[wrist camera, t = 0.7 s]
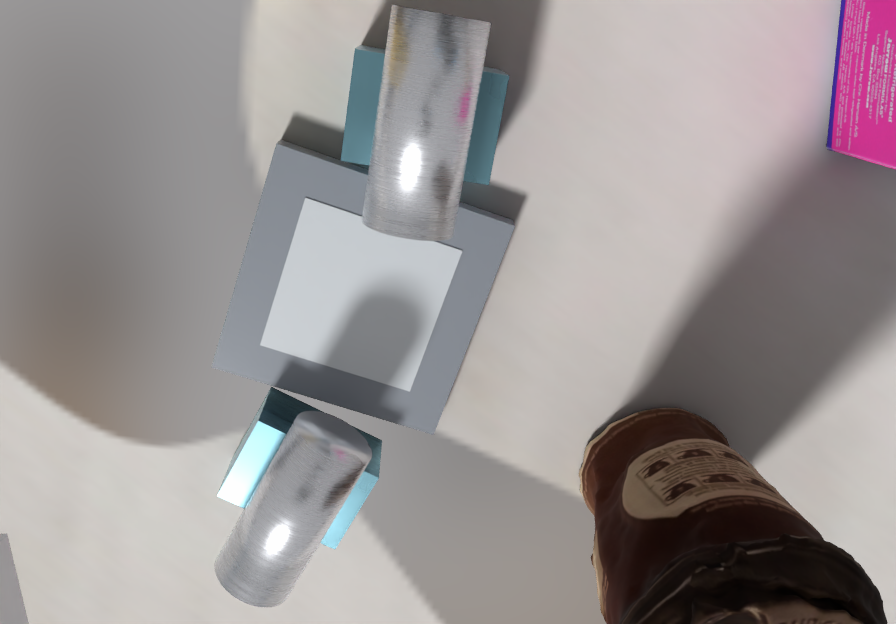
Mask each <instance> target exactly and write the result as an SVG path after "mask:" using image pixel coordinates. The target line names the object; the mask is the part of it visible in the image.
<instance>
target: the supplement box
mask: <svg viewBox="0 0 896 624" xmlns="http://www.w3.org/2000/svg"><path fill="white" fill-rule="evenodd" d="M826 147H827V149H828V150H831V151H835V152H839V153H842V154H846V155H849V156H852V157H855V158H859V159H862V160H865V161H869V162H872V163H875V164H879V165H882V166H886V167H889V168H892V169H896V0H841V10H840V19H839V29H838V38H837V48H836V58H835V68H834V77H833V86H832V98H831V107H830V117H829V127H828V137H827V144H826Z"/></svg>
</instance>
